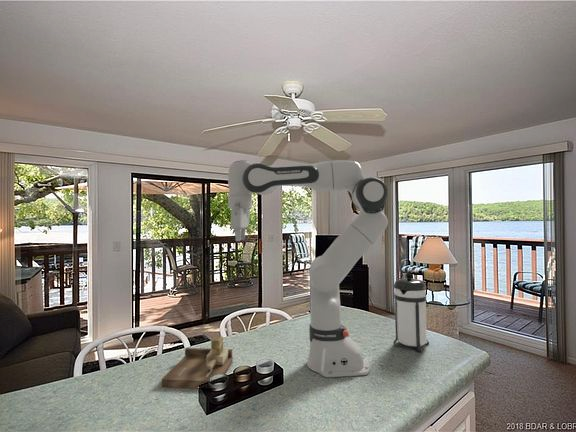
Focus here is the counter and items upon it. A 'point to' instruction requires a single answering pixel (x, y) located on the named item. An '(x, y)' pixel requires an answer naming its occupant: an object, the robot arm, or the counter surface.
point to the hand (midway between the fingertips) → (240, 240)
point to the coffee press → (410, 312)
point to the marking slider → (216, 353)
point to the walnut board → (194, 369)
